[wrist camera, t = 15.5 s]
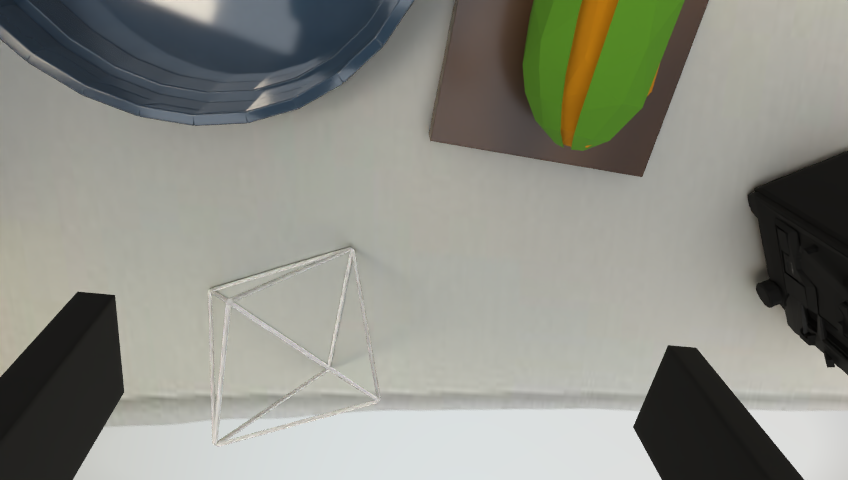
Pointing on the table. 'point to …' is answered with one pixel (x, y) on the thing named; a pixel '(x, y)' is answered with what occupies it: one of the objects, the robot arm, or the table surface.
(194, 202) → the table surface
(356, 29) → the bowl
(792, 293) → the camera
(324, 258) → the geometric polyhedron
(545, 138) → the walnut board
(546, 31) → the corn
